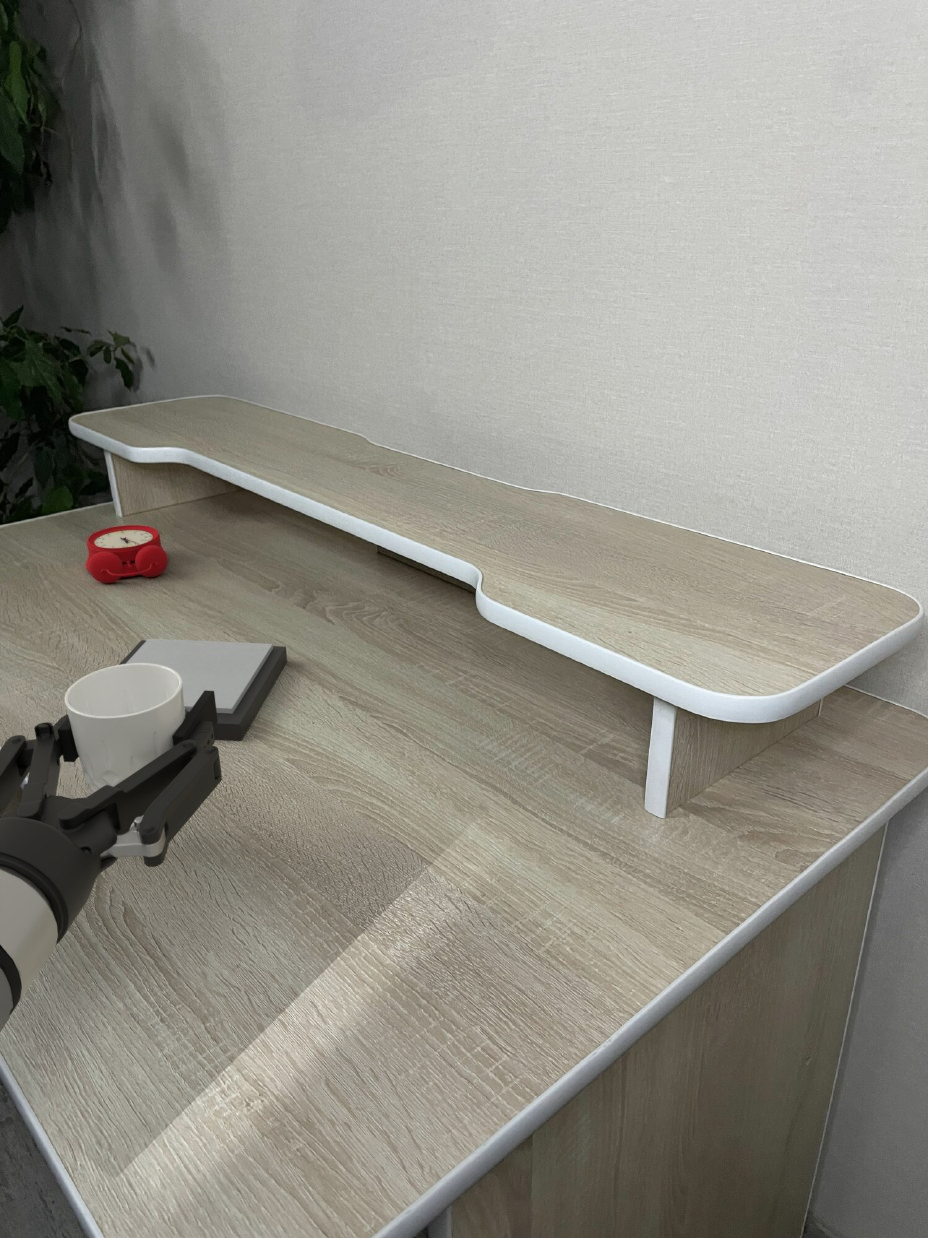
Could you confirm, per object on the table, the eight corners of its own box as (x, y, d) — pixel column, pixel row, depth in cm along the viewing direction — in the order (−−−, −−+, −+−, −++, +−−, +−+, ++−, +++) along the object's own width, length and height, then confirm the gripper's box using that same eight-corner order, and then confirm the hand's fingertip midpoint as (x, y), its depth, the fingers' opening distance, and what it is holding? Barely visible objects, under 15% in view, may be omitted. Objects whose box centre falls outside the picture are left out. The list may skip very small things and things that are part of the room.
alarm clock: (158, 520, 132) (168, 529, 118) (165, 563, 133) (176, 578, 119) (79, 529, 128) (80, 540, 114) (87, 574, 129) (89, 590, 116)
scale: (74, 732, 87) (70, 709, 86) (143, 654, 102) (140, 634, 101) (241, 741, 86) (239, 718, 85) (287, 661, 101) (285, 641, 100)
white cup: (220, 795, 71) (205, 680, 67) (137, 852, 65) (115, 729, 61) (149, 764, 75) (131, 653, 71) (64, 815, 69) (39, 696, 65)
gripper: (-161, 950, 54) (39, 737, 74) (186, 977, 52) (292, 752, 73) (-199, 844, 51) (21, 653, 71) (169, 870, 49) (285, 666, 69)
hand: (158, 703), depth 72 cm, fingers closed on white cup, 8 cm apart
